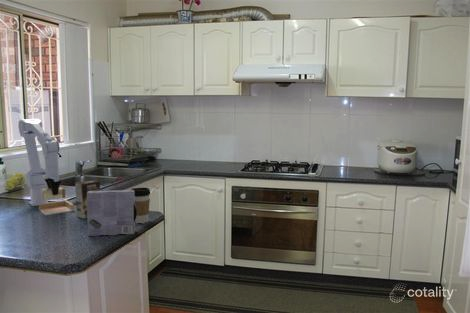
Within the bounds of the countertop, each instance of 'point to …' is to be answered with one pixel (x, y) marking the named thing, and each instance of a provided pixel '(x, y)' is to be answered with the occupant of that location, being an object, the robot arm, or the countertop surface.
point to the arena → (56, 207)
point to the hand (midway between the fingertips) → (53, 193)
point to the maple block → (49, 196)
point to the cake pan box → (111, 212)
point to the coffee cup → (142, 204)
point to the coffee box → (84, 195)
